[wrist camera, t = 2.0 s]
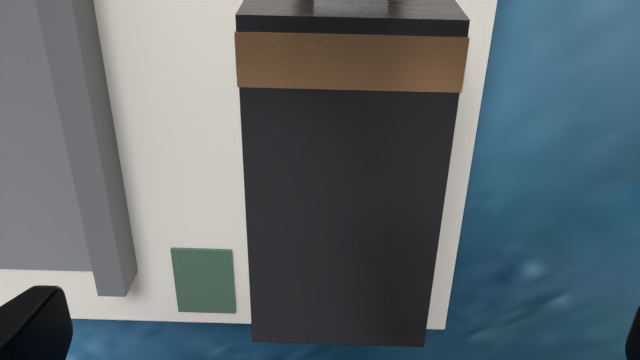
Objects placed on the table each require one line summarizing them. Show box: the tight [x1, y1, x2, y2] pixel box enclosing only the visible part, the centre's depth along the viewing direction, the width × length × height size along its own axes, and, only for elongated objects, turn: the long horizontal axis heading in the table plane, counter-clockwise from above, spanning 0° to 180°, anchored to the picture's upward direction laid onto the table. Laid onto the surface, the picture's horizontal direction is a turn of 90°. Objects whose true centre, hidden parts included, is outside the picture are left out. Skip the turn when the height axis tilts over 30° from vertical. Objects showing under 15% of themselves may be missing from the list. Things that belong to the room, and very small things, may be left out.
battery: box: [234, 0, 470, 347], centre depth 14 cm, size 8×4×4 cm, turn 179°
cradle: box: [0, 0, 497, 329], centre depth 16 cm, size 14×18×4 cm
